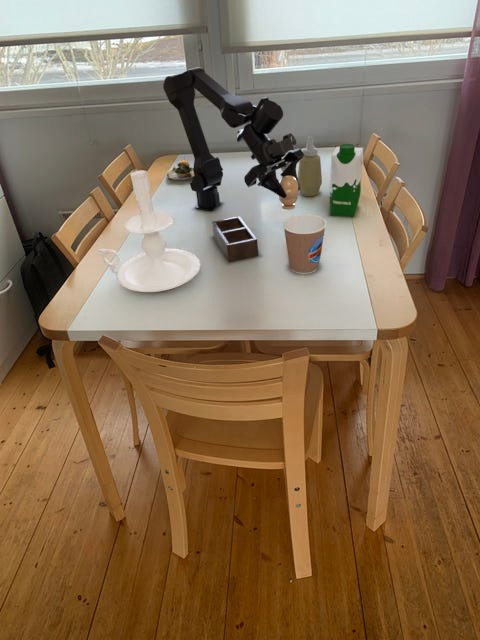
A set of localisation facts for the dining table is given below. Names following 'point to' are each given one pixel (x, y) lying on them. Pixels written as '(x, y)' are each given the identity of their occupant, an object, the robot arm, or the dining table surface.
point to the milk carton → (345, 180)
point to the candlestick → (152, 248)
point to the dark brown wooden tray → (235, 239)
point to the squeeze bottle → (310, 170)
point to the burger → (181, 171)
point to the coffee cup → (304, 241)
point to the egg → (289, 192)
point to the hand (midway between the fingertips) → (292, 194)
